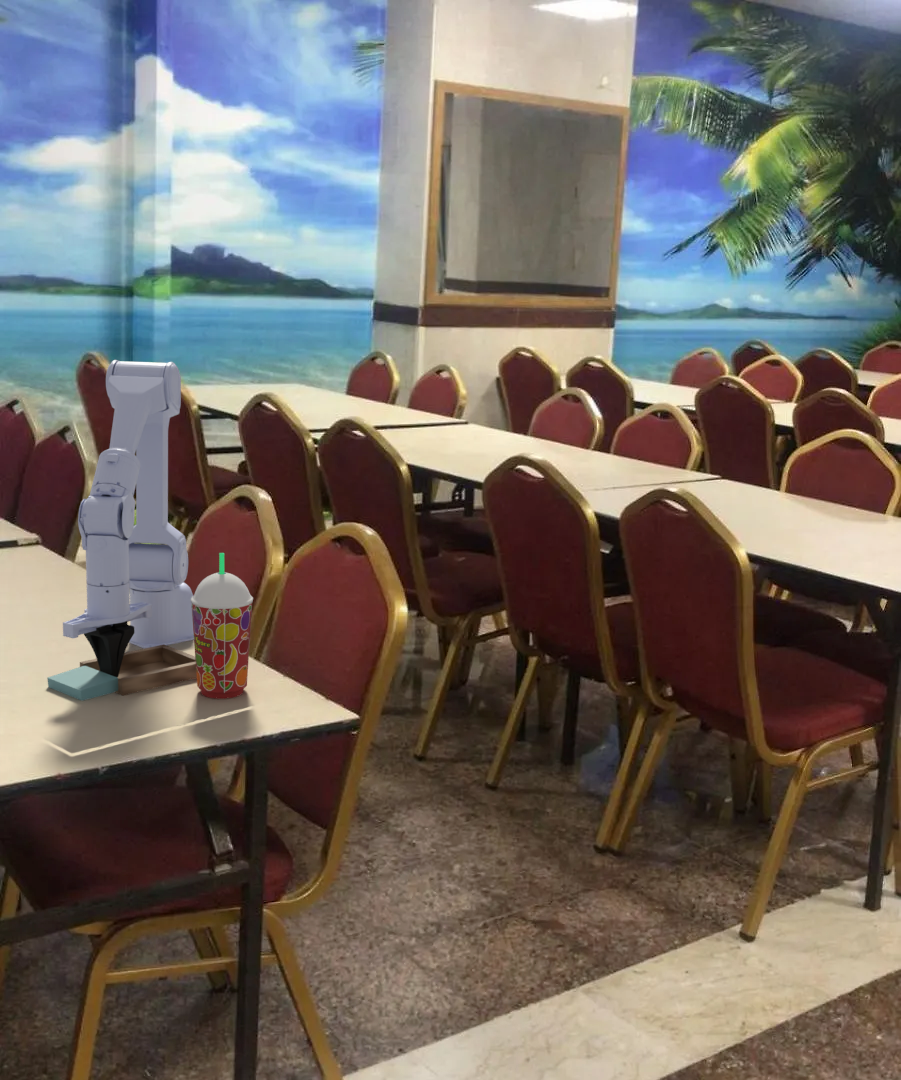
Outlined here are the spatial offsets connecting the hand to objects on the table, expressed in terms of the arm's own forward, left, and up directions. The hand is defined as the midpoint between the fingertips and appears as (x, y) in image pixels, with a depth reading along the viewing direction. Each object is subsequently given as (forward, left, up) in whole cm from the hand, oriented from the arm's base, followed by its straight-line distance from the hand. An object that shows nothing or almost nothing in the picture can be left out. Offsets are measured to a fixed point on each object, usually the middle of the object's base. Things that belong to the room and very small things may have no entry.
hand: (110, 676), depth 185 cm
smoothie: (-10, +13, -2) cm, 16 cm away
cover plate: (+4, 0, -1) cm, 4 cm away
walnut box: (-5, 0, -1) cm, 5 cm away
